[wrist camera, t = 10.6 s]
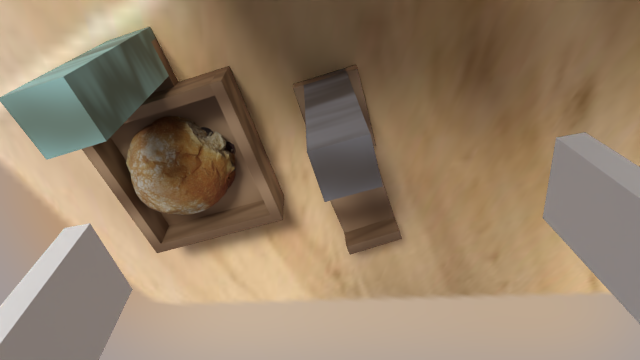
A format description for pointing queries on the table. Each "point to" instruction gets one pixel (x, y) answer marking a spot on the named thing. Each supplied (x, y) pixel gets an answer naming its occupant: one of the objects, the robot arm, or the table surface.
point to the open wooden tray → (138, 112)
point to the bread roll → (180, 166)
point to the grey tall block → (338, 133)
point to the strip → (366, 219)
